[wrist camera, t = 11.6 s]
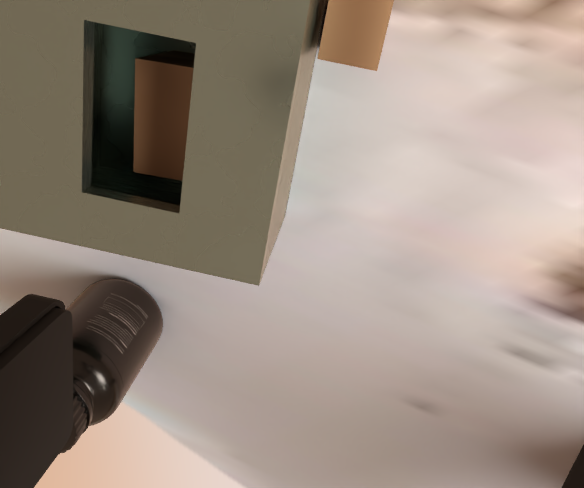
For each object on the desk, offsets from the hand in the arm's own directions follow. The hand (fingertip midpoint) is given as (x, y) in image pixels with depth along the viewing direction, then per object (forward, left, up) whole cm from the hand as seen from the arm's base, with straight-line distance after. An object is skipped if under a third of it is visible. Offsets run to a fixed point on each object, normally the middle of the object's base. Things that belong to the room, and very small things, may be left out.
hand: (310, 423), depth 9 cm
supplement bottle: (+14, +18, -26) cm, 35 cm away
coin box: (+10, 0, -26) cm, 28 cm away
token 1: (+10, 0, -26) cm, 27 cm away
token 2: (+1, -7, -26) cm, 27 cm away
